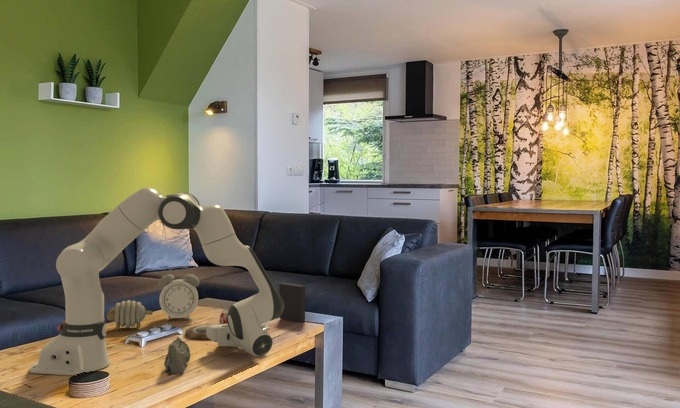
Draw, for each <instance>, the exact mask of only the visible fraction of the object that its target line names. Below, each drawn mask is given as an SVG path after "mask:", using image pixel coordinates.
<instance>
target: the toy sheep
mask: <svg viewBox="0 0 680 408" xmlns="http://www.w3.org/2000/svg"><path fill="white" fill-rule="evenodd" d="M153 313H154V312H153V310H146V307H145V306H144V305H143V304H142V303H141V302H140V301H137V302H136V301H135V300H132V301H131V300H130V299H128V300H126V301H125V300H122V301H121V302H116V303H115V306H114V307H111V308H110V309H109V310H108V312H107V313H106V316H105V317H106V319H107V320H108V321H111V322H114V323H115V330H116V331H117V332H118V331H120V329H121V328H120V327H122V328H123V327H125V328H127V329H130V328H131V327H132V328H134V327H136V331H137V330H140V329H141V323H142V321H143V320H144V319H145V318H146V315H147V316H148V315H149V316H150V315H153Z"/></svg>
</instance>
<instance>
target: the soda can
mask: <svg viewBox="0 0 680 408" xmlns="http://www.w3.org/2000/svg"><path fill="white" fill-rule="evenodd" d="M228 310H229V309H224V310H222V311H221V312H220V315H219V323H218V324H227V323H228V322H227V314H228ZM224 347H227V348H228V347H231V348H232V347H233V346H224Z"/></svg>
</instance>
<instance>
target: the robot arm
mask: <svg viewBox="0 0 680 408" xmlns="http://www.w3.org/2000/svg"><path fill="white" fill-rule="evenodd" d="M157 221H160V222H161V223H162V224H163V226H164V227H167V228H168V229H172V230H176V231H177V230H194V231H195V232H196V234H197V236H198V239H199V242H200V244H201V247H202V250H203V253H204V254H205V256H206V258H207V260H208V261H209V262H210V263H213V264H214V265H217V266H222V267H234V266H235V267H242V268H245V269H246V270H248V273H249V274H250V275H251V277H252V279H253V281H254V283H255V284H256V286H257V288H258V289H259V290H258V292H257V293H255V294H253V295H251V296H249V297H247V298H245V299H241V300H239V301H237V302H236V303H233V304H231V305H230V306H229V308H228V309H227V310H228V314H227V322H228V323H227V324H219V323H214V324H209V325H210V326H207V329H206V334H207V337H208V338H209V339H210V341H211V342H214V343H217V346H219V347H225V346H232V347H235V348H240V349H242V350H243V351H244V352H246V353H247V354H249V355H251V356H254V357H262V356H264V355H266V354H268V353H269V352H270V350H271V349H272V347H273V344H274V341H273V338H272V336H271V335H270V334H269V333H268V331H270V330H271V328H270V327H269V326H267V324H266V323H267V322H271V321H273V320H277V319H279V318H280V316H281V314H282V312H283V309H284V302H283V300H282V298H281V296H280V293H279V292H278V290H277V289H276V287H275V285H274V284H273V283H272V281H271V279H270V277H269V275H268V273H267V272H266V270H265V268H264V266H263V265H262V263H261V261H260V259H259V258H258V256H257V254H256V252H255V251H254V250H253V249H252V247H250V246H249V245H245V244H243V243H242V242H241V241H240V240H239V238H238V237H237V235H236V232H235V230H234V227H233V225H232V222H231V220H230V218H229V217H228V215H227V213H226V211H225V209H224V208H223V207H221V205H219V204H208V205H204V206H201V204H200V202H199V200H198V198H197V197H196V196H194V195H193V194H192V193H188V192H175V193H172V194H168V195H165V196H163V195H162V194H160V193H159V191H157V190H156V189H154V188H151V187H148V186H145V187H141V188H140V189H139V190H137V191H135V192H133V193H132V194H131V195H129V196H128V197H126V198H125V199H124V200H123V201H121V202H120V203H118V205H117V206H116V207H115V208H113V209H112V210H111V211H110V212H109V213H108V214H107V215H105V216H104V217H103V218H101V220H100V221H99V222H98V223H97V225H96V226H95V227H94V228H93V229H92V231H90V233H89V234H88V235H86V236H85V238H83V239H82V240H80V241H79V242H77V243H74V244H72V245H71V244H70V245H68V246H67V247H66V248H63V250H62V251H61V252H60V254H59V255H58V256H57V258H56V262H55V268H56V272H57V273H58V274H59V275H60V279H61V283H62V288H63V292H64V299H65V300H64V302H65V305H64V306H65V320H63V321H62V323H60V324H59V325H58V326H57V328H56V329H57V331H59V334H58V335H57V336H55V337H54V338H52V339H51V340H50V341H49V342H48V343H46V344H45V345H44V346H43V347H42V348H41V350H40V352H39V355H38V360H37V361H35V362H34V363H32V365H30V367H29V372H30V373H31V374H41V375H42V374H43V375H60V376H73V375H75V376H77V375H76V374H79V373H83V372H86V373H90V371H91V372H95V371H98V370H102V369H104V368H106V367H108V366H109V365H110V364H111V361H110V358H109V354H108V351H107V345H106V344H107V343H106V336H107V324H106V323H107V322H106V318H105V293H104V292H103V290H102V286H101V280H100V272H102V270H104V269H105V268H106V267H107V266H108V265H109V264H110V263H111V262H112V261H113V260H114V259H115V258H117V257H118V256H119V254H120V253H122V252H123V250H124V249H125V248H126V247H128V245H129V244H131V243H132V242H133V241H135V239H137V238H138V237H139V236H140V235H141V234H143V232H144V231H145V230H146V229H148V228H149V227H150V226H152V224H154V223H155V222H157ZM83 374H84V373H83Z"/></svg>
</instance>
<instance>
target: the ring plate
mask: <svg viewBox="0 0 680 408" xmlns="http://www.w3.org/2000/svg"><path fill="white" fill-rule="evenodd" d="M210 325H211V324H201V325H199V324H198V325H195V326H190V327H188V328H186V329H185V330H184V335H185V337H186V338H187V339H191V340H197V341H209V340H210V339H209V338H208V337H207V334H206V329H207V326H210ZM210 341H211V340H210Z"/></svg>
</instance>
